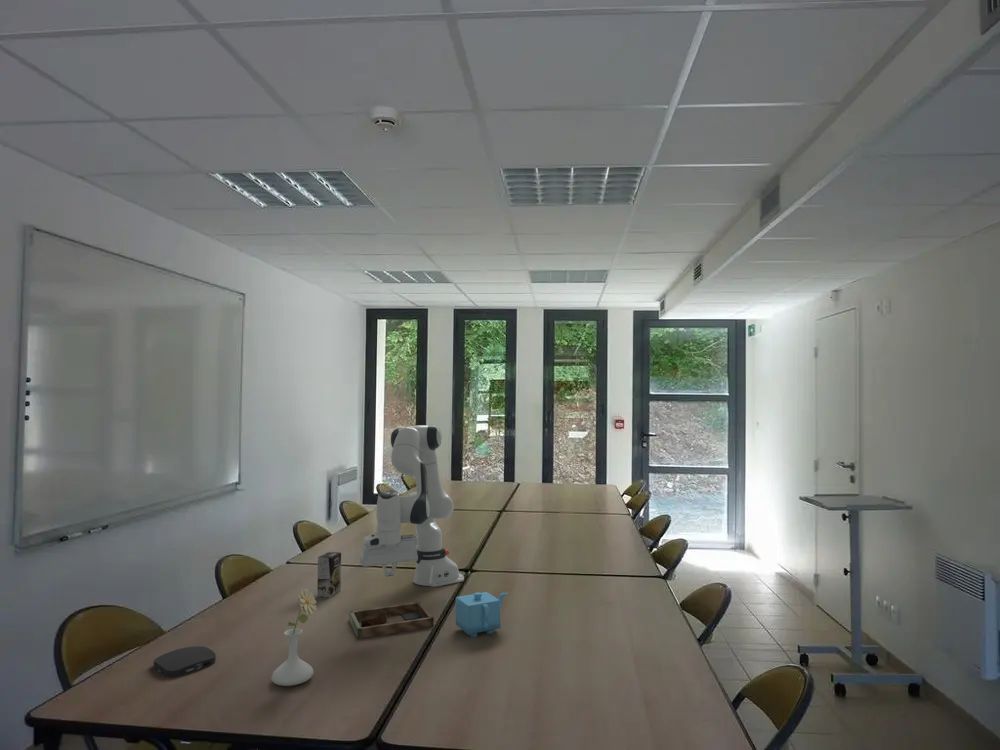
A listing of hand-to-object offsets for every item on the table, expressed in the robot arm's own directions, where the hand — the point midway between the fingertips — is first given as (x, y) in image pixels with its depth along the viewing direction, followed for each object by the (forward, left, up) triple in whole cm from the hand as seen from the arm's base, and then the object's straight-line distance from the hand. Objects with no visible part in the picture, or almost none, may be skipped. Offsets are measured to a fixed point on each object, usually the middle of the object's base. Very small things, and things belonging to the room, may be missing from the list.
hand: (389, 575), depth 214 cm
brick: (+6, +1, -17) cm, 18 cm away
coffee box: (+15, -43, -17) cm, 49 cm away
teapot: (-30, +19, -17) cm, 39 cm away
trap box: (-1, 0, -17) cm, 17 cm away
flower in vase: (+34, +32, -17) cm, 50 cm away
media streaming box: (+64, +8, -18) cm, 67 cm away
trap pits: (-9, 0, -17) cm, 19 cm away
